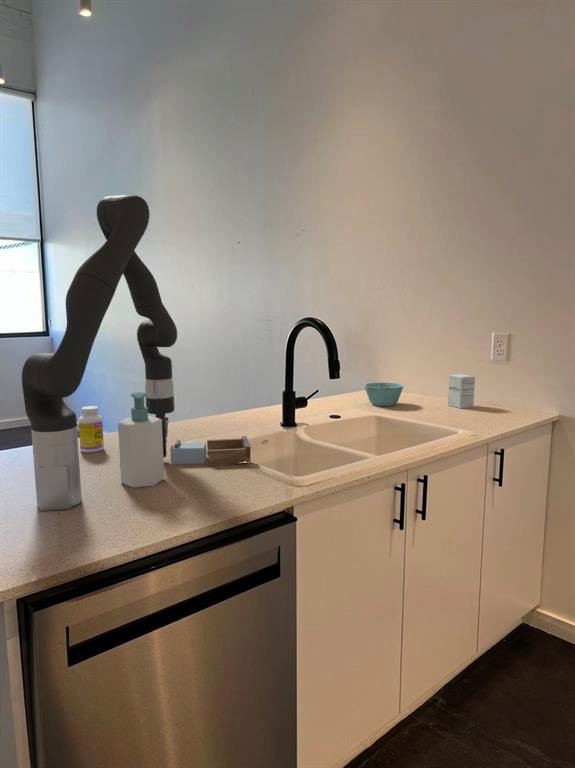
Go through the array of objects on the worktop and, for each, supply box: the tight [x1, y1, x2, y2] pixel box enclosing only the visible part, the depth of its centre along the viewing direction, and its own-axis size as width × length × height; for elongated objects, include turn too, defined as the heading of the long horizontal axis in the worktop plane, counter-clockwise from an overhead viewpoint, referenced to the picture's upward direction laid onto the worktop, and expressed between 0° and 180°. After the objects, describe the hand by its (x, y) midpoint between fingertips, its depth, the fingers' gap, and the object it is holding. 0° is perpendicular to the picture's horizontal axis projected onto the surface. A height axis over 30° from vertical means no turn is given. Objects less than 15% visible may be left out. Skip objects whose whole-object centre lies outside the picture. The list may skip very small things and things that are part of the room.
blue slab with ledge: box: [169, 439, 207, 465], centre depth 159 cm, size 6×9×6 cm, turn 92°
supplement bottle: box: [78, 405, 105, 453], centre depth 169 cm, size 7×7×13 cm
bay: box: [206, 435, 252, 467], centre depth 161 cm, size 12×11×5 cm
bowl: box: [363, 381, 404, 407], centre depth 236 cm, size 16×16×8 cm
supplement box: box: [447, 373, 476, 410], centre depth 231 cm, size 7×7×13 cm
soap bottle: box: [117, 391, 165, 489], centre depth 140 cm, size 10×9×22 cm
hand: (162, 456), depth 158 cm, fingers closed
